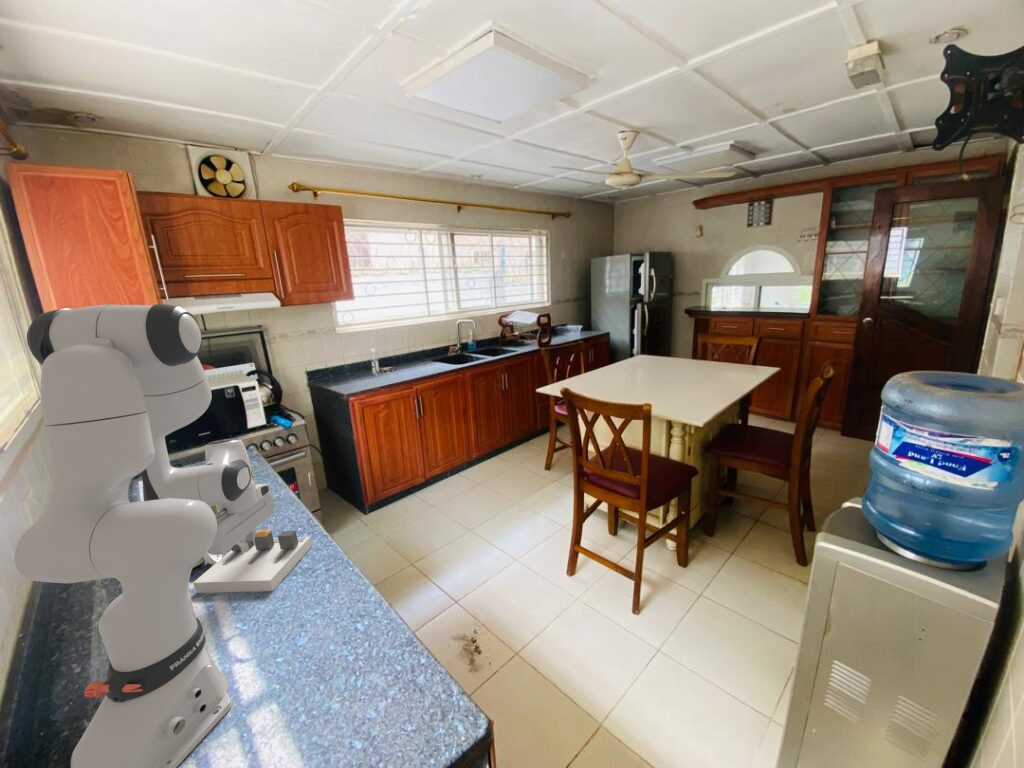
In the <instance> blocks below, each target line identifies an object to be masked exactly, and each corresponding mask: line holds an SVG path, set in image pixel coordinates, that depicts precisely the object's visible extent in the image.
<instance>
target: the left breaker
mask: <svg viewBox="0 0 1024 768" xmlns="http://www.w3.org/2000/svg"><path fill="white" fill-rule="evenodd" d="M245 541H246V540H245ZM230 550H232V551H241V548H240V546H239V545H237V544H235V545H234V546H233V547H232V548H231V549H230Z"/></svg>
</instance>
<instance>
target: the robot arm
mask: <svg viewBox="0 0 1024 768" xmlns="http://www.w3.org/2000/svg"><path fill="white" fill-rule="evenodd" d="M26 341H27V342H26V343H27V346H28V349H29V350H30V353H31V354H32V356H33V358H35V360H36V361H37V362H38V363H39V364H40V365H41V375H40V405H41V412H42V418H43V423H44V424H43V425H44V429H45V433H46V439H47V445H48V450H49V456H50V463H51V468H52V469H51V470H52V485H51V490H50V495H49V498H48V501H47V504H46V506H45V508H44V511H43V513H41V516H40V517H39V518H38V519H37V520H36V521H35V522H34V523H33V524H32V525H30V526H29V527H28V528H27V529H26V530H25V531H24V532H23V534H22V535H21V537H20V538H19V540H18V542H17V544H16V547H15V550H14V564H15V567H16V569H17V571H18V572H19V574H20V576H22V577H24V578H25V579H27V580H30V581H34V582H42V583H55V584H74V583H75V584H76V583H81V582H82V583H83V582H89V581H97V580H98V581H99V580H105V579H116V580H117V581H118V582H119V583H120V584H121V588H122V593H120V594H119V595H118V596H117V597H116V598H115V599H114V600H112V601H111V602H110V604H108V606H107V607H106V608H105V610H104V612H103V614H102V615H101V617H100V618H99V623H98V631H99V632H98V633H99V634H100V637H101V640H102V643H103V645H104V649H105V652H106V654H107V656H108V659H109V663H108V669H107V676H106V680H104V681H100V680H99V681H97V680H94V681H92V682H90V683H88V684H87V686H86V687H85V689H84V692H83V694H84V695H83V696H84V697H85V698H86V699H87V698H89V699H90V698H101V697H102V696H104V695H105V696H104V697H103V699H102V701H101V703H100V705H99V706H98V708H97V710H96V711H95V713H94V715H93V717H92V718H91V720H90V722H89V724H88V726H87V727H86V729H85V730H84V733H83V734H82V736H81V737H80V739H79V741H78V742H77V745H76V746H75V748H74V750H73V751H72V754H71V757H70V768H177V767H178V766H179V765H180V764H181V763H182V762H184V759H186V758H187V756H188V755H189V754H191V753H192V751H193V750H194V749H195V748H196V747H197V746H198V744H200V742H201V741H202V740H203V739H204V738H205V737H206V736H207V735H208V734H209V733H210V732H211V730H212V729H213V728H214V727H215V726H216V725H217V724H218V722H220V721H221V719H222V718H224V716H226V714H227V712H229V711H230V709H231V708H232V706H233V705H232V704H233V702H232V700H231V698H230V696H229V695H228V689H229V683H228V682H229V681H228V679H227V677H226V676H225V674H223V672H222V671H221V670H220V669H219V668H218V667H217V665H216V664H215V662H214V661H213V659H212V656H211V655H210V653H209V649H208V648H207V646H206V641H207V639H206V635H205V631H204V628H203V625H202V623H201V620H200V619H199V618H198V617H197V615H196V614H195V610H194V606H193V601H192V597H191V592H190V577H191V574H192V573H191V571H192V568H193V566H194V565H195V564H196V562H197V561H198V560H199V559H200V558H202V557H203V556H204V555H205V553H206V552H208V553H209V554H211V555H221V554H222V555H224V554H227V553H228V552H229V551H230V550H232V549H231V548H232V547H233V546H234V545H235V544H237V545H239V546H240V548H241V551H242V552H248V551H249V550H250V549H251V548H252V547H253V546H255V541H254V539H255V535H256V532H257V530H256V528H258V527H259V526H260V525H261V524H263V522H265V521H266V520H268V519H269V518H270V517H272V516H273V514H274V512H275V503H274V499H273V495H272V493H271V484H269V483H256V482H255V479H254V480H253V479H252V477H251V469H252V465H251V461H250V457H249V454H248V451H247V449H246V445H245V443H244V442H243V440H242V439H240V438H236V437H235V438H234V437H233V438H227V439H220V440H215V441H214V440H213V441H210V442H208V443H207V444H205V446H204V454H205V455H204V458H205V463H206V464H202V465H201V464H200V465H196V466H195V465H194V466H191V467H190V466H189V467H181V468H179V467H174V466H172V465H171V462H170V459H169V458H170V457H169V453H168V448H167V444H166V436H168V435H170V434H172V433H174V432H175V431H177V430H179V429H182V428H184V427H187V426H188V425H190V424H191V423H193V422H195V421H196V420H197V419H199V418H200V417H201V416H202V415H204V413H205V412H206V411H207V410H208V408H209V406H210V405H211V401H212V398H213V397H212V389H211V385H210V382H209V380H208V378H207V374H206V373H205V370H204V367H203V365H202V362H201V361H200V359H199V357H198V355H199V353H200V351H201V349H202V345H203V335H202V331H201V327H200V325H199V322H198V320H197V319H196V318H195V316H194V315H193V314H192V313H191V312H189V311H188V310H186V309H185V308H184V307H182V306H178V305H174V304H165V303H164V304H163V303H156V304H153V305H150V304H149V305H148V304H113V303H110V304H100V305H99V304H98V305H91V306H84V307H76V308H67V307H66V308H65V307H64V308H59V309H54V310H53V309H52V310H50V311H47V312H43V313H41V314H39V315H37V316H35V317H34V319H33V320H32V321H31V323H30V326H29V327H28V328H27V333H26ZM139 475H140V477H141V481H142V494H143V500H141V501H136V502H135V501H133V502H131V501H130V498H129V490H130V489H129V488H130V485H131V482H132V480H133V478H135V477H137V476H139ZM215 505H216V508H217V512H218V513H217V514H216V515H215V514H214V512H213V510H212V509H211V508H210V507H211V506H215ZM245 540H246V541H245Z"/></svg>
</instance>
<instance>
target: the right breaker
mask: <svg viewBox="0 0 1024 768" xmlns="http://www.w3.org/2000/svg"><path fill="white" fill-rule="evenodd" d="M297 537H298V536H297V532H296V530H283V531H282V532H281V533H280V534H278V535H277V538H278V540H279V544H280V548H281V549H294V548H295V547H296V546H297V545H298V539H297Z"/></svg>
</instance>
